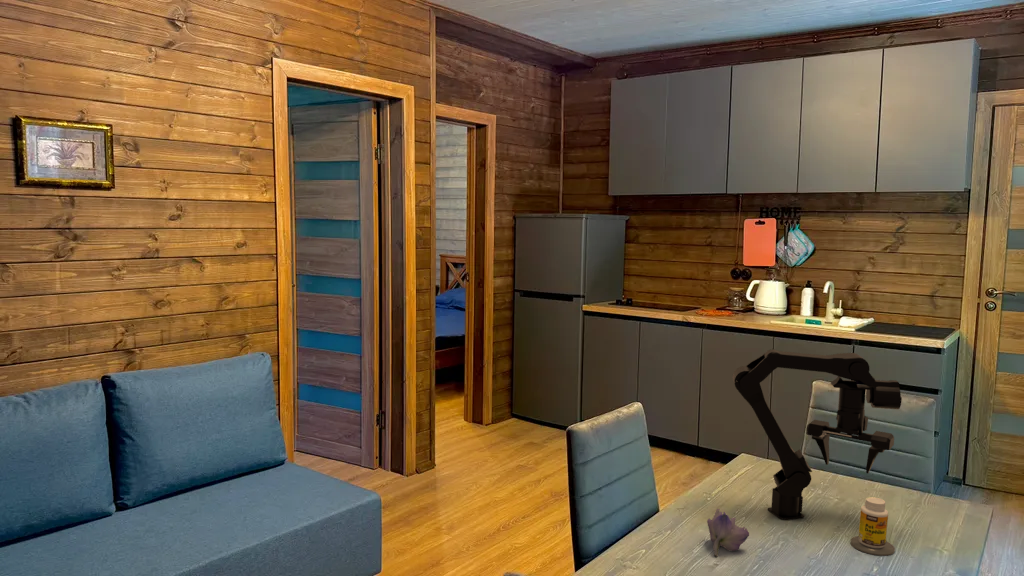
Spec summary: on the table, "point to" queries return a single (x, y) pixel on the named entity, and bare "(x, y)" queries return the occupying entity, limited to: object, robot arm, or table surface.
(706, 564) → the table surface
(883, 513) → the supplement bottle
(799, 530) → the table surface
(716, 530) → the flower
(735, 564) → the table surface
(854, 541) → the slate coaster
